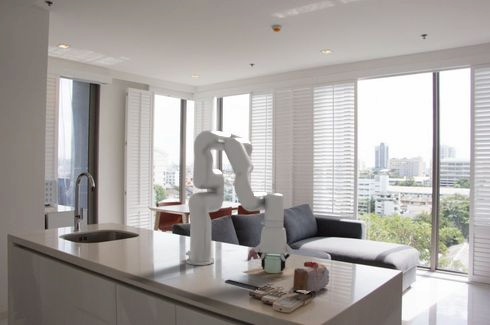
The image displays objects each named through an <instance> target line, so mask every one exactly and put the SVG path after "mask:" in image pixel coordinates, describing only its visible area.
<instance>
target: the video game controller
mask: <svg viewBox="0 0 490 325" xmlns="http://www.w3.org/2000/svg"><path fill="white" fill-rule="evenodd" d="M254 248H255V247H251V249H250V250H249V251H248V254H247V262H250V261H249V260H251V259H253V260H258V259H259V256H258V254H257V253H256V252H255V250H254ZM259 251H260V248H259ZM260 252H261V251H260ZM261 253H262V252H261Z"/></svg>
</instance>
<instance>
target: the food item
mask: <svg viewBox="0 0 490 325" xmlns="http://www.w3.org/2000/svg"><path fill="white" fill-rule="evenodd" d="M293 269H294V276H293V284H292V286H293V288H295V289H296V290H306V291H315V293H318V292H320V291H321V290H322V289H323V288H326V287H327V286H328V285H329V283H330V275H329V274H330V271H329V269H327V267H326V266H325V265H324V264H322V263H320V262H316V261H314V262H313V261H306V262H303V266H300V267H296V268H293Z"/></svg>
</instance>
